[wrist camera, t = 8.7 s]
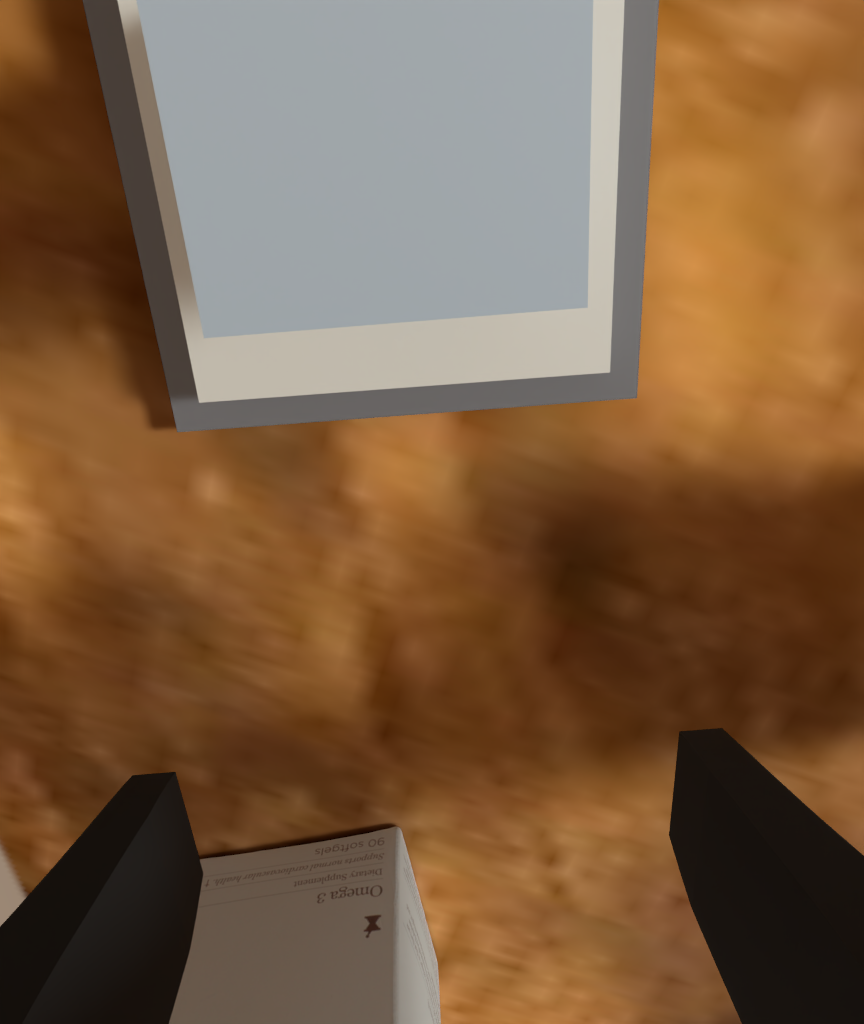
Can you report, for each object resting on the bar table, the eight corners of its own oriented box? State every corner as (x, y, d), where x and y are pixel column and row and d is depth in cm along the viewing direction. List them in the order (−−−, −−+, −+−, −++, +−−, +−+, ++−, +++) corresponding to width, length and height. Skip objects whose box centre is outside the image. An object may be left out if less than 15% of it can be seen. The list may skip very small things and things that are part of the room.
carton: (495, 240, 15) (587, 307, 8) (297, 256, 15) (204, 338, 8) (486, -29, 13) (597, -278, 6) (259, -13, 13) (88, -241, 6)
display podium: (627, 389, 18) (652, 412, 17) (186, 421, 18) (163, 449, 17) (659, -257, 13) (700, -324, 12) (49, -219, 13) (-6, -280, 11)
